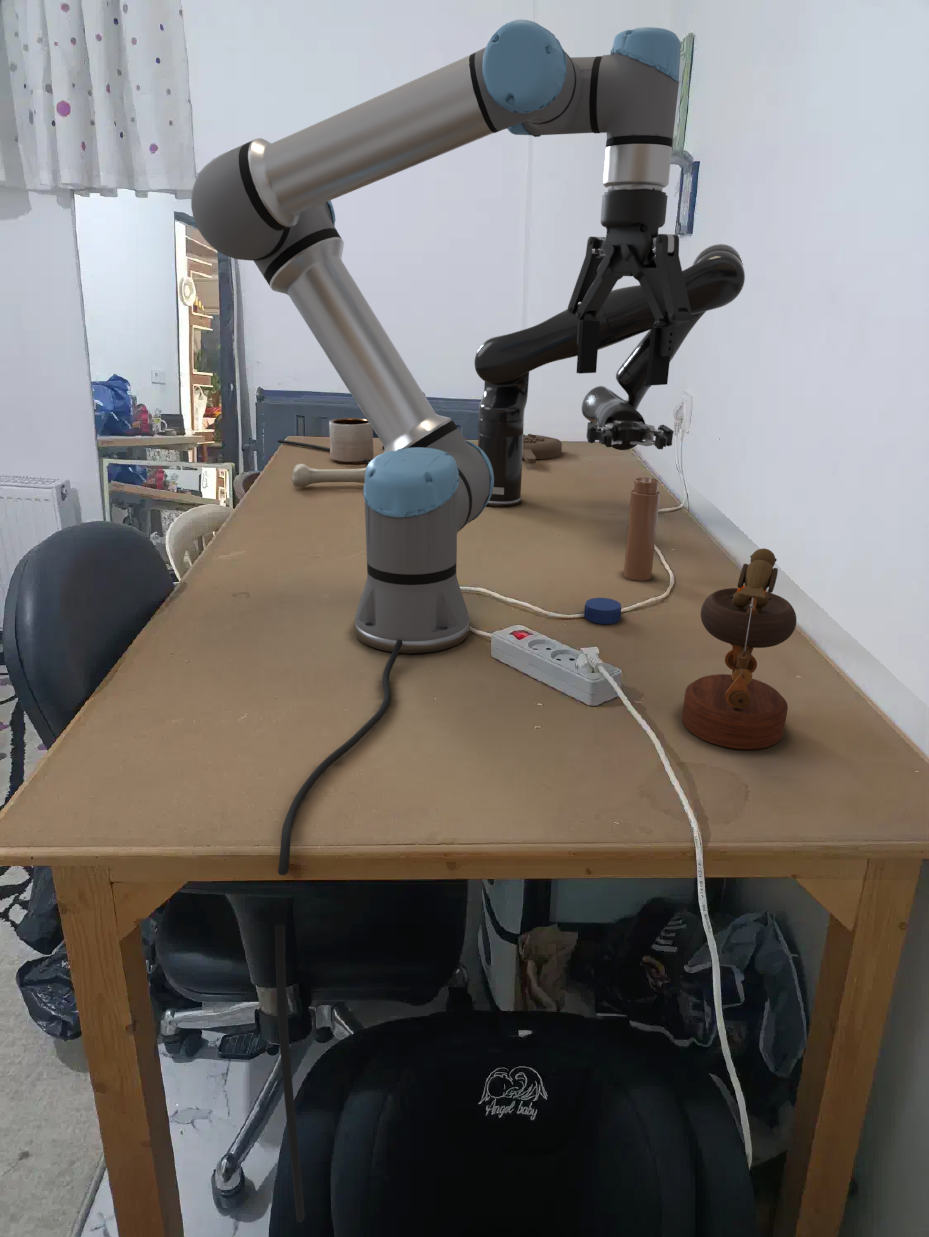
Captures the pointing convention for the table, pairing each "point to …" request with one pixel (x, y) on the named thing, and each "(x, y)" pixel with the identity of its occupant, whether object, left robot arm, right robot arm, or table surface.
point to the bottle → (642, 529)
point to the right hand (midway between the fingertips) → (635, 442)
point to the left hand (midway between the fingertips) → (619, 378)
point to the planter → (351, 440)
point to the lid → (602, 610)
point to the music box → (742, 662)
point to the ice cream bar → (540, 447)
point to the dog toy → (325, 475)
